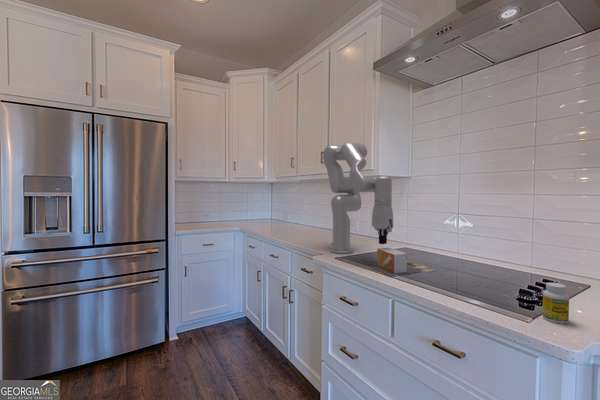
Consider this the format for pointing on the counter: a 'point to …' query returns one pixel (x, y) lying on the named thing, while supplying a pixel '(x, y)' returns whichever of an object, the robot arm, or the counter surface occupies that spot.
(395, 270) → the small box
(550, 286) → the supplement bottle
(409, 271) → the mat
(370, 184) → the robot arm
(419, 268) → the turner
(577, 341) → the counter surface
